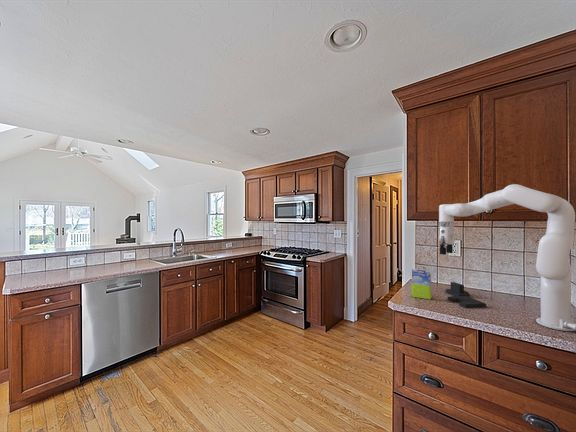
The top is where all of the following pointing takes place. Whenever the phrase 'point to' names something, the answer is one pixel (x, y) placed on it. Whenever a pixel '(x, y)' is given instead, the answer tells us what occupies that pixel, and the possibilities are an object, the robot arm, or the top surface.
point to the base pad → (467, 301)
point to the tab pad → (457, 290)
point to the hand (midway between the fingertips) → (446, 253)
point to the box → (421, 284)
